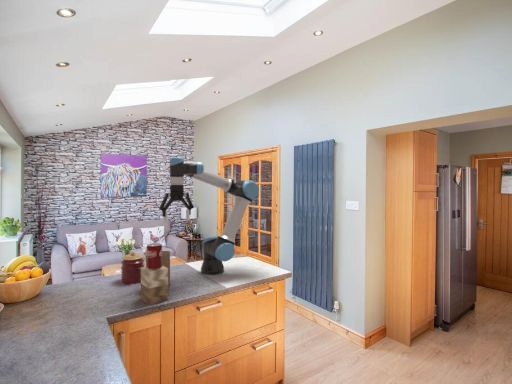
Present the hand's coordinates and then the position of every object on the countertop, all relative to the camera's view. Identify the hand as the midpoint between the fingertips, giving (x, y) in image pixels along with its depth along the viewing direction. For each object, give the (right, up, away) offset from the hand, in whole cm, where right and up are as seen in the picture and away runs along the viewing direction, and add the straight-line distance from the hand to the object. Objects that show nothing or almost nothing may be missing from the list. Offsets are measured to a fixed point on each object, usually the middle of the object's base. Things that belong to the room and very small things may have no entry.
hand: (177, 221), depth 172 cm
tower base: (-6, -38, -20) cm, 43 cm away
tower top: (-6, -30, -20) cm, 36 cm away
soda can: (-6, -22, -20) cm, 30 cm away
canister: (-29, -37, +9) cm, 47 cm away
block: (-10, -37, -3) cm, 38 cm away
